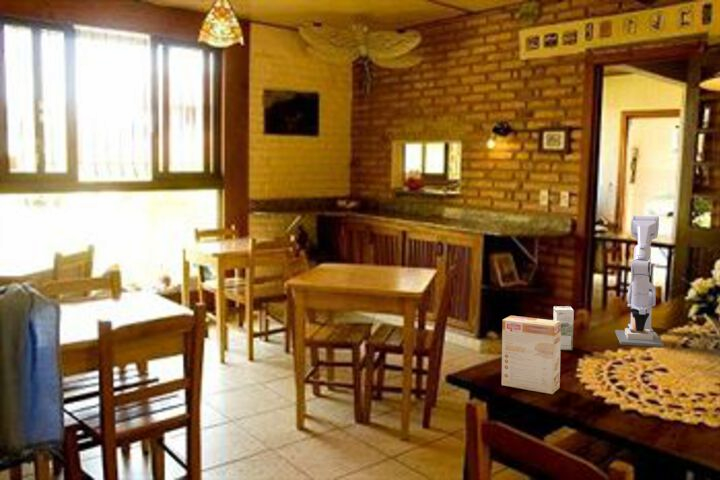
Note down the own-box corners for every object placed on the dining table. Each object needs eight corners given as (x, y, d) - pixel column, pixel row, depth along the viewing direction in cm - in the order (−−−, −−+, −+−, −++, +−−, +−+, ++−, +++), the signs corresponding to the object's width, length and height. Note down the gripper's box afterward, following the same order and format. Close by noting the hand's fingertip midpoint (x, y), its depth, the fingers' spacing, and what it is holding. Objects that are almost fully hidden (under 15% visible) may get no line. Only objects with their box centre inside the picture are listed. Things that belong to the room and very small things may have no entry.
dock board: (615, 332, 244) (615, 324, 244) (655, 334, 240) (655, 326, 240) (620, 344, 227) (621, 336, 226) (663, 347, 223) (664, 338, 223)
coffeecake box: (560, 387, 182) (561, 320, 180) (552, 395, 176) (554, 325, 174) (509, 378, 190) (510, 314, 188) (500, 385, 184) (501, 319, 182)
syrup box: (568, 346, 225) (570, 305, 224) (572, 350, 219) (573, 309, 218) (552, 345, 226) (553, 305, 224) (555, 350, 220) (556, 309, 218)
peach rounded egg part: (631, 332, 236) (632, 316, 235) (643, 333, 235) (644, 317, 234) (633, 335, 232) (633, 319, 231) (645, 335, 231) (645, 319, 230)
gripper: (625, 289, 240) (624, 324, 241) (630, 296, 226) (629, 333, 227) (646, 289, 238) (644, 325, 239) (652, 297, 224) (651, 335, 225)
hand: (638, 329), depth 233 cm, fingers closed on peach rounded egg part, 4 cm apart
